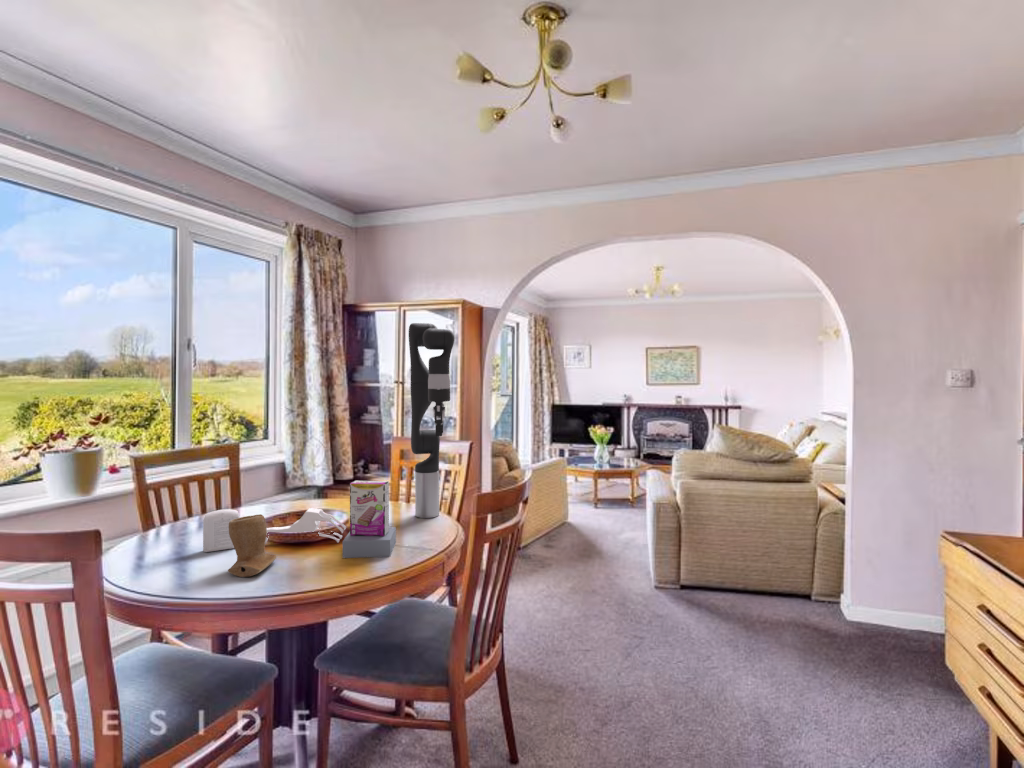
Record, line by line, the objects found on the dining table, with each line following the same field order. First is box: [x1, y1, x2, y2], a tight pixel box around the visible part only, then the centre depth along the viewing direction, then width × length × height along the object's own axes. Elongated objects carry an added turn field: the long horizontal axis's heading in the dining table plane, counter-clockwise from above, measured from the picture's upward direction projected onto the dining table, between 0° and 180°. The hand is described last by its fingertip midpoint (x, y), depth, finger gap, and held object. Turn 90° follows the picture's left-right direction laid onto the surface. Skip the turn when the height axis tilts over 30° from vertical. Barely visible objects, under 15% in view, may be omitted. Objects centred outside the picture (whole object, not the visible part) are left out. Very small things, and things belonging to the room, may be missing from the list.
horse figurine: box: [265, 507, 347, 544], centre depth 179 cm, size 5×16×25 cm
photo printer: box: [202, 508, 241, 553], centre depth 172 cm, size 10×4×12 cm, turn 123°
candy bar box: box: [349, 480, 390, 536], centre depth 170 cm, size 11×5×16 cm, turn 87°
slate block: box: [341, 526, 397, 559], centre depth 170 cm, size 14×14×5 cm
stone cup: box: [227, 514, 277, 578], centre depth 154 cm, size 15×12×15 cm
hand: (439, 434), depth 187 cm, fingers open, 8 cm apart
